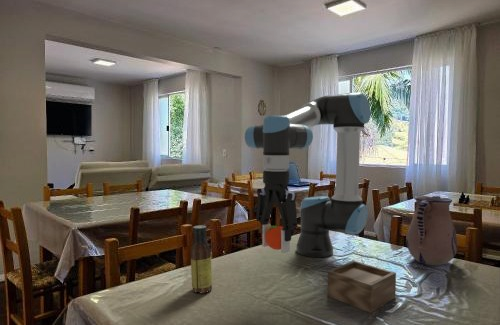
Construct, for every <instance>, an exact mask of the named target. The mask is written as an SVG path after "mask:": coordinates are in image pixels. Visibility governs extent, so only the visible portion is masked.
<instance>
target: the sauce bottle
mask: <svg viewBox="0 0 500 325" xmlns="http://www.w3.org/2000/svg"><path fill="white" fill-rule="evenodd" d="M192 231H193V244H192V246H191V248H190V267H191V268H190V273H191V287H192V291H193V290H194V291H196V292H207V291H209V292H211V291H212V289H213V271H212V252H211V250H210V247H209V243H208V240H207V226H206V225H200V224H199V225H195V226H193V227H192ZM210 290H211V291H210ZM196 292H195V293H196ZM207 293H208V292H207Z"/></svg>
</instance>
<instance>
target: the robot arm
mask: <svg viewBox="0 0 500 325" xmlns="http://www.w3.org/2000/svg"><path fill="white" fill-rule="evenodd" d="M371 112H372V110H371V104H370V101H369V99H368V98H367V95H365V94H364V93H363V92H348V93H339V94H331V95H330V94H328V95H324V96H320V97H317V98H316V99H315V98H314V99H313V100H310V101H308V102H306V103H303V104H302V105H301V106H300V108H299V109H296V110H293V111H292V112H289V113H287V114H285V115H267V116H265V117H264V118H263V122H262V124H261V125H253V126H249V127H247V128H246V130H245V132H244V141H245V144H246V146H247V147H249V148H251V149H256V150H258V149H262V150H263V151H262V168H263V169H264V170H263V172H262V182H263V184H264V186H263V187H261V188H260V187H259V188H257V189H256V192H257V193H256V194H257V203H256V215H255V216H256V217H255V220H256V221H257V222H259V223H260V224H261V227H260V230H261V231H260V232H261V233H260V234H261V235H262V247H264V248H265V247H269V246H268V244H267V242H266V238H265V236H266V232H267V231H268V229H269V228H268V227H270V226H272V225H271V221H270V219H271V215H272V212H273V207H274V205H276V207H277V208H278V213H279V216H280V220H281V224H282V227H283V229H282V230H281V249H280V252H281V253H282V254H285V253H288V252H290V249H291V248H290V246H291V241H292V230H293V229H297V228H298V216H297V205H296V204H297V203H296V201H297V192H292V191H289V188H288V185H289V183H290V171H289V169H290V150H302V149H306V148H308V147H310V145H311V144H312V142H313V139H314V134H313V131H312V129H311V127H315V126H318V125H320V126H321V125H333V126H332V128H333V130H334V131H335V132H336V163H335V164H336V165H335V168H336V169H335V193H334V195H332V196H331V198H330V197H329V196H326V195H322V196H311V197H304V198H303V199H302V200H301V204H300V235H299V238H298V240H297V243H296V249H295V250H296V253H297V254H299V255H301V256H304V257H311V258H325V257H330V256H333V253H334V247H333V245H332V241H331V237H330V231H333V232H338V233H343V234H344V233H345V234H351V235H358V234H360V233H361V232H362V231H363V230H364V229H365V226H366V224H367V221H368V213H369V211H368V207H367V205H366V204H364V203H363V198H362V197H361V196H360V194H359V187H360V186H359V183H360V182H359V180H360V178H359V177H360V176H359V175H360V152H361V150H360V147H361V146H360V144H361V132H362V131H363V130H364V129H365V124H368V123H369V122H370V120H371V116H372V115H371V114H372V113H371ZM266 228H268V229H266ZM265 229H266V230H265ZM264 230H265V231H264ZM263 231H264V232H263Z"/></svg>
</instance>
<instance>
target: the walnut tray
mask: <svg viewBox="0 0 500 325" xmlns="http://www.w3.org/2000/svg"><path fill="white" fill-rule="evenodd" d="M396 281H397V272H396V271H395V272H394V271H391V270H388V269H385V268H382V267H381V268H380V267H377V266H374V265H370V264H367V263H363V262H360V261H357V260H352V261H349V262H346V263H345V264H341V265H339V266H337V267H334V268H332V269H330V270H327V290H326V291H327V292H326V293H327V295H326V296H327V297H330V298H333V299H334V300H337V301H339V302H342V303H344V304H348V305H350V306H353V307H355V308H357V309H360V310H363V311H365V312H367V313H370V314H371V313H373V312H375V311H376V310H377V309H380V308H381V307H383V306H384V305H386V304H388V303H389V302H390V301H392V300H394V299H395V298H396V288H397V287H396V285H397V283H396Z"/></svg>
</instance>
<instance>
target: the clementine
mask: <svg viewBox="0 0 500 325" xmlns="http://www.w3.org/2000/svg"><path fill="white" fill-rule="evenodd" d="M268 228H269V229H268ZM268 228H266V229H268V231H267V232H266V236H265V238H266V242H267V244H268V246H267V247H269V248H270V249H272V250H275V251H276V250H277V251H279V250H280V251H281V230H282V229H283V225H278V224H277V225H271V226H270V227H268ZM266 229H265V230H266ZM265 230H264V231H265ZM264 231H263V232H264Z"/></svg>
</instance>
